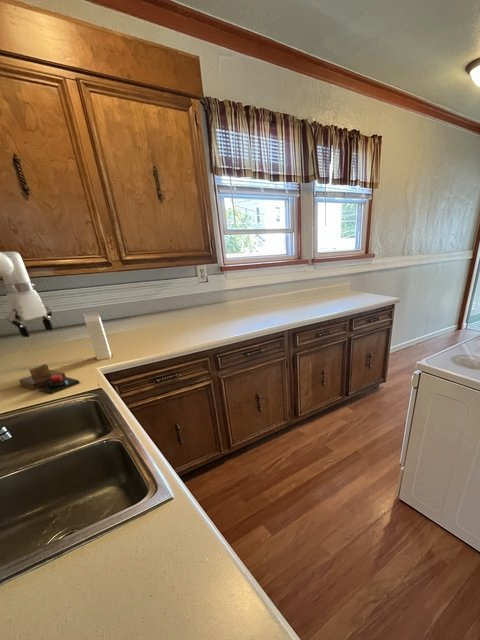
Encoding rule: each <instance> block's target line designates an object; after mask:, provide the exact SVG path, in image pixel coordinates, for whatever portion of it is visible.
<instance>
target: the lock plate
mask: <svg viewBox="0 0 480 640" xmlns="http://www.w3.org/2000/svg"><path fill="white" fill-rule="evenodd" d="M49 371H50V373H51V374H50V375H47V376H44V377H41V378H38V379H33V378H32V375H30V376H26V377H24V378H21V379H18V382H19V384H20V386H21V387H23V388H27V389H30V390H33V391H37V390H38V391H39V389H38V387H40V386H43V385H46V384H48V383H47V381H48V380H49V379H51V378H50V377H51V376H54V375H61V376H65V377H67V376H66V374H65V372H61V371H57V370H53V369H49Z"/></svg>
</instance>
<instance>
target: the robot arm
mask: <svg viewBox="0 0 480 640" xmlns="http://www.w3.org/2000/svg"><path fill="white" fill-rule="evenodd" d="M0 277H1V278H2V279H3V283H4V285H5V288H6V290H7V292H8V293H6V299H7V304H8V307H9V310H10V312H9V313H8V314H7V315H6V316H5V319H6V320H7V321H8V322H9V323H10V324H11V325H13V326H15V327H16V328H17V329H18V331H19V333H20V335H21V337H23V338H30V333H29V330H28V328H27V326H26V321H30V320H31V321H32V320H35V319H38V318H39V319H40V318H41V319H42V323H43V327H44V329H45V330H46V331H54V327H53V324H52V321H51V320H52V316H53V307H51V306H48V305H45V304H44V303H43V301H42V299H41V297H40V295H39V293H38V292H37V291H36V290H35V289H34V287H35V285H36V284H34V282H32V281H31V280H30V279H31V278H30V277H29V274H28V271H27V268H26V266H25V264H24V261H23V259H22V256H21V254H20V253H19V252H17V251H0Z"/></svg>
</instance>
